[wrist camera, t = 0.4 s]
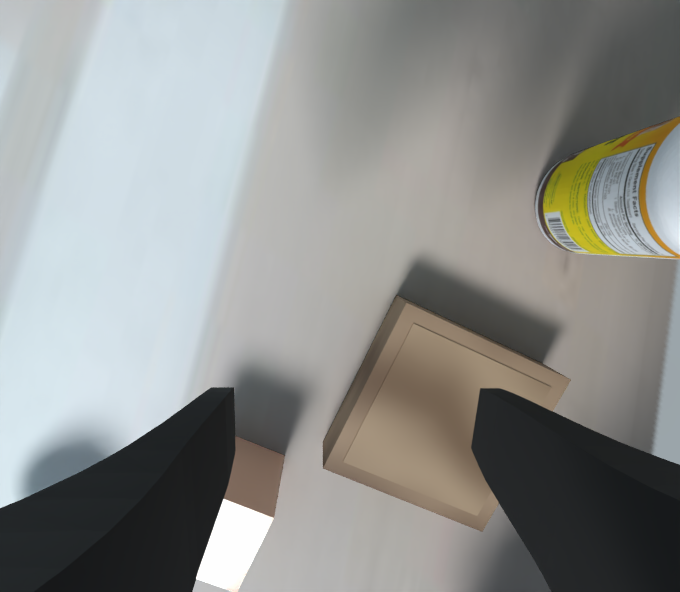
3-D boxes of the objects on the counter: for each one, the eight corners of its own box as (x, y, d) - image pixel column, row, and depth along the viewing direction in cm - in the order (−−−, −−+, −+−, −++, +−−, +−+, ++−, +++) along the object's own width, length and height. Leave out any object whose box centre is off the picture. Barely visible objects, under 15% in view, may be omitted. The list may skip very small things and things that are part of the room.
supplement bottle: (637, 162, 20) (953, 88, 10) (608, 260, 21) (873, 282, 11) (544, 142, 20) (775, 42, 10) (517, 243, 21) (706, 249, 10)
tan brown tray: (465, 500, 23) (482, 532, 21) (322, 442, 22) (323, 468, 19) (542, 363, 22) (571, 380, 19) (396, 294, 21) (406, 302, 18)
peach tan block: (255, 515, 23) (236, 592, 18) (187, 489, 22) (148, 562, 17) (284, 454, 22) (274, 518, 17) (215, 427, 22) (183, 484, 17)
